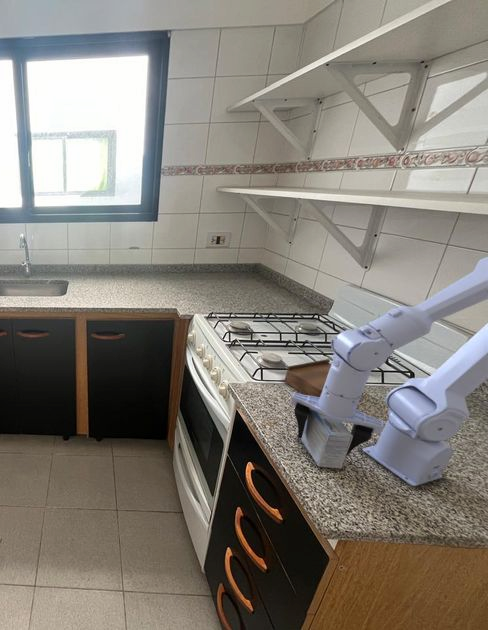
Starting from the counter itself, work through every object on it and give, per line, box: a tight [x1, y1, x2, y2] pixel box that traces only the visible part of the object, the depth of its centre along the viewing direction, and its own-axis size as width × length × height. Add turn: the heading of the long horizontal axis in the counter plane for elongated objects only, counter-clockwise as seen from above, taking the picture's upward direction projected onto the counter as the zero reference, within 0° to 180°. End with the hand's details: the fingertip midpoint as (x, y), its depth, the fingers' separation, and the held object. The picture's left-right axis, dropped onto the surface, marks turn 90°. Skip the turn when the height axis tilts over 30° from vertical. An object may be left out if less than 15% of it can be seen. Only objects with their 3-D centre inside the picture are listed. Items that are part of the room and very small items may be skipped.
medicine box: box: [300, 409, 353, 470], centre depth 71 cm, size 8×4×9 cm, turn 171°
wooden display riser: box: [283, 358, 332, 397], centre depth 93 cm, size 10×14×5 cm
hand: (322, 443), depth 72 cm, fingers closed on medicine box, 7 cm apart
